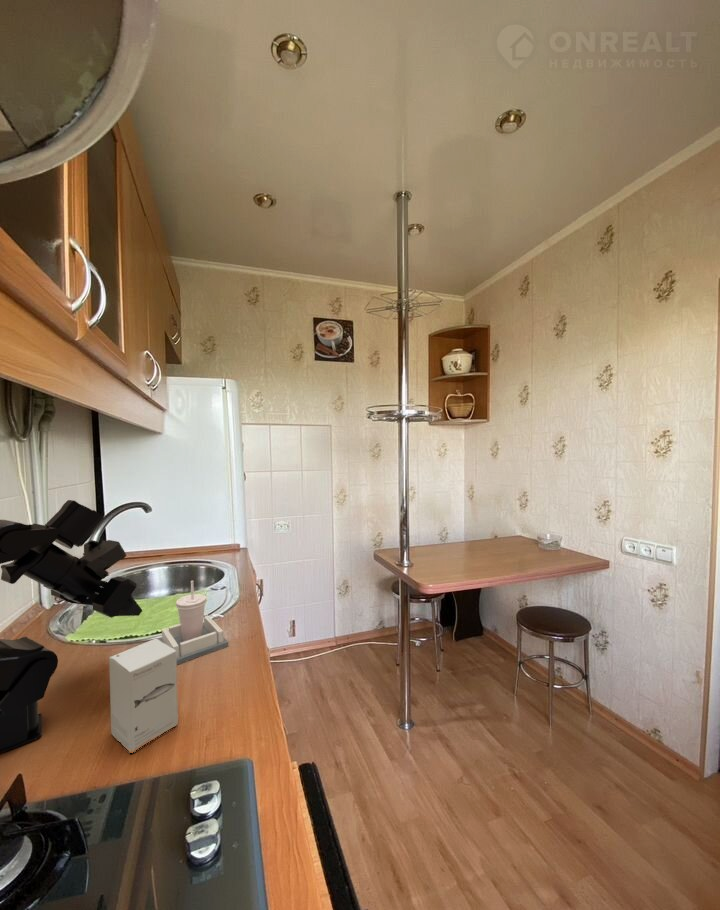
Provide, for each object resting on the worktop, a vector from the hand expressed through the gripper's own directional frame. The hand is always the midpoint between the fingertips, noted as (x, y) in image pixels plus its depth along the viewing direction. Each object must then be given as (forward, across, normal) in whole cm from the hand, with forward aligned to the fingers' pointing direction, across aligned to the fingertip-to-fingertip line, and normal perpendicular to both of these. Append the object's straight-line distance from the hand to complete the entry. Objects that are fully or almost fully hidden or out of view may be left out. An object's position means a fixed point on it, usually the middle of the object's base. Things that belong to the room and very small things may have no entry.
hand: (126, 608), depth 74 cm
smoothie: (+18, -2, 0) cm, 19 cm away
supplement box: (+5, -17, +15) cm, 23 cm away
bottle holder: (+19, -2, 0) cm, 19 cm away
